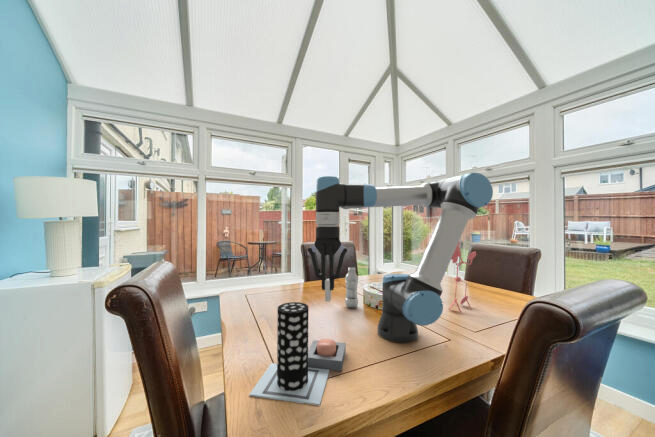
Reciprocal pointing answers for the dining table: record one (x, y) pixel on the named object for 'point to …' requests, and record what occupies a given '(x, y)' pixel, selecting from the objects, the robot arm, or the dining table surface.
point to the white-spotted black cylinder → (292, 346)
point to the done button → (326, 347)
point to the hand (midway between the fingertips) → (328, 300)
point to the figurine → (457, 279)
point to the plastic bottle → (351, 288)
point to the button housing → (326, 357)
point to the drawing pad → (307, 394)
